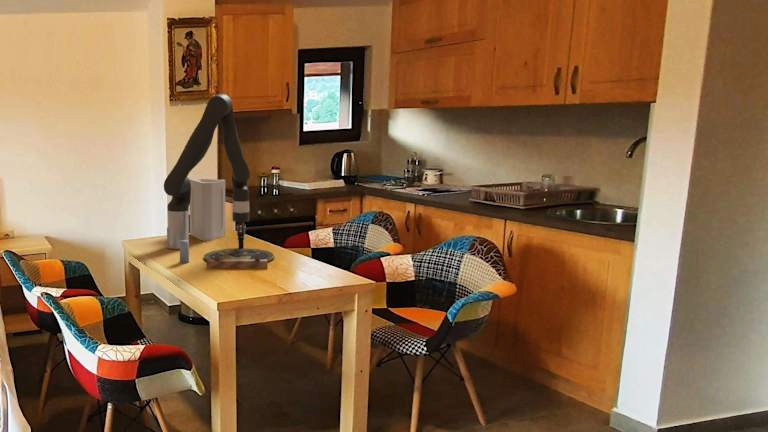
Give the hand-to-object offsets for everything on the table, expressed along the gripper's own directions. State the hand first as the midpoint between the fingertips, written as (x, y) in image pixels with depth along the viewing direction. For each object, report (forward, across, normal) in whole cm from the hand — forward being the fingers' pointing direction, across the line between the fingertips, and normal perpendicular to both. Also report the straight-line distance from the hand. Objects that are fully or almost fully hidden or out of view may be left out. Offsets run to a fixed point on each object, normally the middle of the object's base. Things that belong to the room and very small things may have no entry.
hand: (241, 248), depth 310 cm
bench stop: (+1, +33, -1) cm, 33 cm away
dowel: (+1, +23, -22) cm, 32 cm away
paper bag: (+1, -35, -16) cm, 39 cm away
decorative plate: (+2, +16, 0) cm, 16 cm away
